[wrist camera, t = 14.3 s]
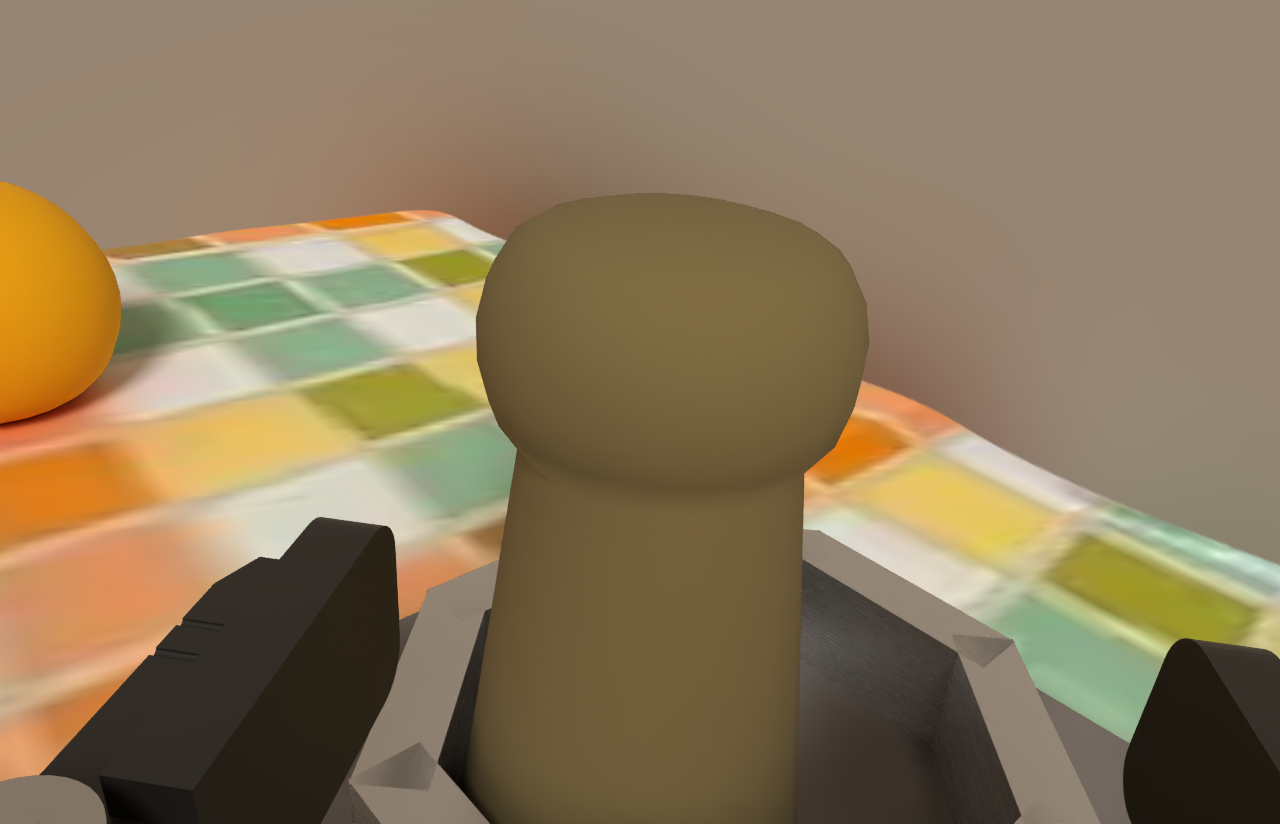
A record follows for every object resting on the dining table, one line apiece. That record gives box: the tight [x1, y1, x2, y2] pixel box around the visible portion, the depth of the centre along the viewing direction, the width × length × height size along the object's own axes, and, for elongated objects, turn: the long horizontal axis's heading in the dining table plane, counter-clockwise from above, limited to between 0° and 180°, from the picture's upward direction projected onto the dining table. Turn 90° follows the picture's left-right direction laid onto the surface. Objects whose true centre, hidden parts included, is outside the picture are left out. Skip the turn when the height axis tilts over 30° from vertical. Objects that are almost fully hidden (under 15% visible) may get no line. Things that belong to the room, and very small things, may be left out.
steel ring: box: [348, 529, 1100, 824], centre depth 16 cm, size 12×12×2 cm
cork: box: [462, 193, 869, 824], centre depth 14 cm, size 6×6×11 cm
